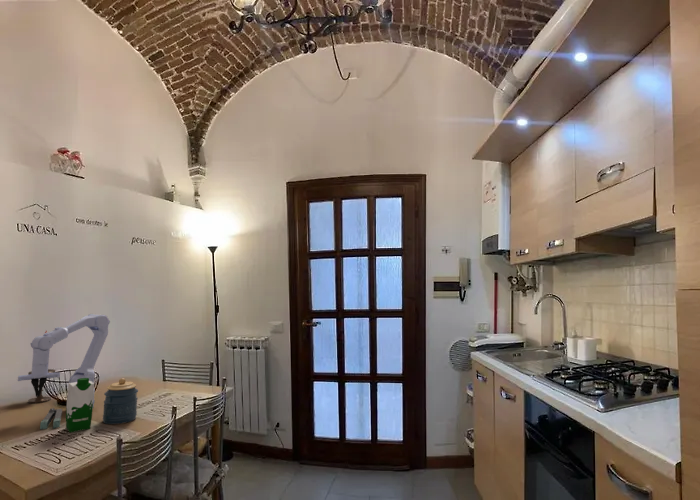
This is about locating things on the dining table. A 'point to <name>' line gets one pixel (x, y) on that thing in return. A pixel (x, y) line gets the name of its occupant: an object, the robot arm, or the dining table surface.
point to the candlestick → (41, 398)
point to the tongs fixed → (56, 417)
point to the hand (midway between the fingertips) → (37, 396)
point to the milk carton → (79, 405)
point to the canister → (120, 402)
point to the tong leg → (46, 420)
